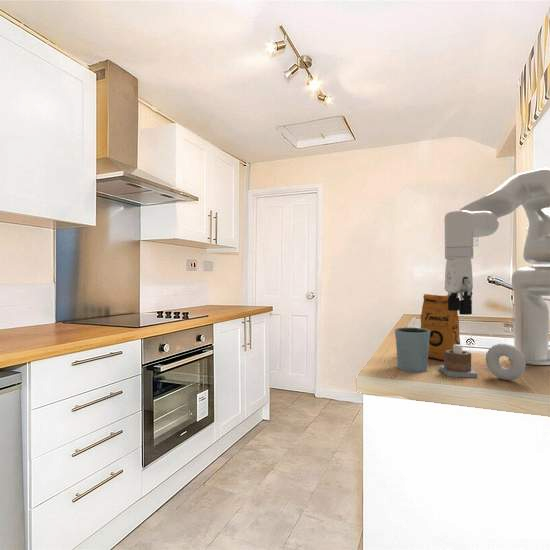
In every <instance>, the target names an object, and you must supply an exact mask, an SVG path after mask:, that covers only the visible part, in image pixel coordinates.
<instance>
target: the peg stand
mask: <svg viewBox="0 0 550 550" xmlns="http://www.w3.org/2000/svg"><path fill="white" fill-rule="evenodd" d="M462 351H463V345H462V344H460V345H453V353H457V354H462ZM438 366H439V367H438V369H439V370H441V373H442V374H444V375H445V376H446V377H449V376H451V378H456V377H457V378H459V377H460V378H475V377H477V378H478V375H479V373H478V372H476V371H475V370H473V369H472V368H471V371H468V372H455V371H451V370H447V369H445V368H444V365H438Z"/></svg>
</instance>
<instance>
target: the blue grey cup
mask: <svg viewBox="0 0 550 550" xmlns="http://www.w3.org/2000/svg"><path fill="white" fill-rule="evenodd" d="M394 335H395V346H396V348H395V349H396V360H397V362H396V363H397V364H396V365H397V369H398V368H399V371H400V370H401V371H403V372H410V373H425V372H427V371H428V360H429V357H428V351H429V339H430V330H427V329H422V328H421V327H406V326H405V327H397V328H395V329H394Z"/></svg>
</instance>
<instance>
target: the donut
mask: <svg viewBox="0 0 550 550" xmlns="http://www.w3.org/2000/svg"><path fill="white" fill-rule="evenodd" d="M501 357H506V358H508V360H509V361H510V366H509V367H504V366H503V365H502V364H501V363H500V358H501ZM485 364H486V367H487V369H488V370H489V371H490V372H491V374H492V375H494V376H495V377H497V379H500V380H503V381H513V380H518V379H519V378H520V377H521V376H523V375H524V372H525V370H526V366H527V364H525V359H524V357H523V355H522V353H521V352H520V351H519V350H518V349H517V348H515V347H514V346H513V345H511V344H509V343H497V344H495V345H494V344H493V345H492V346H491V347H490V348H488V350H487V352H486V354H485Z"/></svg>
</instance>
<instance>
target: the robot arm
mask: <svg viewBox="0 0 550 550" xmlns="http://www.w3.org/2000/svg"><path fill="white" fill-rule="evenodd" d="M519 207H521V208H522V209H523V211H524V214H525V215H526V218H527V221H528V228H527V234H526V238H525V243H524V247H523V254H522V255H523V256H522V257H523V259H524V261H525V262H526V263H528V264H530V265H531V264H532V265H538V266H524V267H523V266H522V267H520V268H517V269H516V270H515V271H514V272H513V273H512V275H511V286H512V292H513V298H514V334H513V335H514V343H513V344H514V346H513V347H515V348H517V349H518V350H519V351H520V352H521V353H522V355H523V357H524V359H525V364H526V365H534V366H550V348H549V346H550V345H549V339H550V338H549V336H550V334H549V333H550V324H549V323H550V309H549V306H548V304H547V302H546V301H545V299H544V298H543V297H550V266H542V265H550V210H549V209H550V168H548V167H543V168H542V167H541V168H538V169H534V170H530V171H524V172H520V173H517V174H515V175H513V176H511V177H509V179H507V180H506V181H505V182H503V184H501V185H500V186H499V187H497V188H496V189H495V190H494V191H493V192H491V193H489V194H486V195H484V196H482V197H480V198H478V199H476V200H473V201H472V202H470V203H468V204H466V205H465V206H463V207H460V209H459V210H455V211H449V212H447V213H445V215H444V259H445V260H446V262H445V268H444V270H445V272H444V290H445V291H446V292H447V295H448V310H449V311H458V313H459V314H458V315H462V316H463V315H464V316H467V315H468V316H469V315H472V314H473V296H472V295H473V294H474V293H473V285H474V283H473V282H474V281H473V280H474V279H473V265H472V260H473V259H474V238H482V237H484V238H485V237H488V236H491V235H493V234H495V233H496V232H497V230H498V228H499V226H500V221H499V218H502V217H506V216H507V215H510V214H511V213H513V212H514V211H515V210H516V209H518V208H519ZM539 265H540V266H539Z"/></svg>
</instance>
